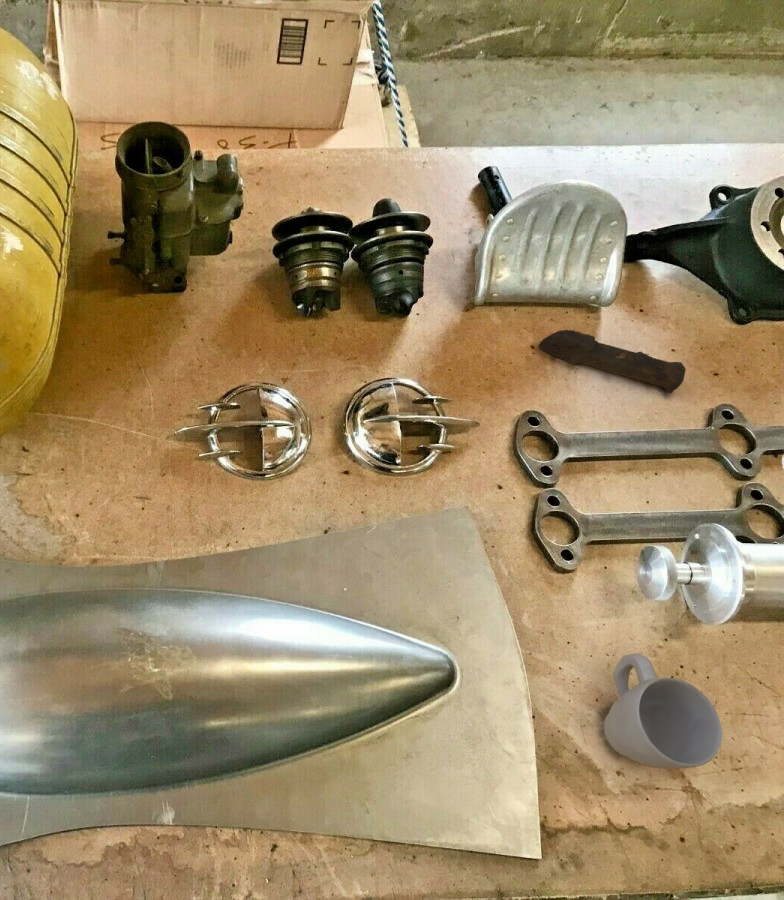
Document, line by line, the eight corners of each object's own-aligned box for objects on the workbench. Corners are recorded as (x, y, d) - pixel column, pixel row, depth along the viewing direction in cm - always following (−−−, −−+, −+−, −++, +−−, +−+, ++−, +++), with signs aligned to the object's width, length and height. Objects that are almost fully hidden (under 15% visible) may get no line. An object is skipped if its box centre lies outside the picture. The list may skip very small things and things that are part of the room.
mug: (679, 767, 87) (739, 759, 79) (606, 781, 86) (659, 773, 78) (634, 659, 93) (686, 640, 84) (565, 671, 92) (611, 652, 83)
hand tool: (670, 375, 112) (691, 356, 108) (669, 397, 110) (690, 380, 106) (539, 333, 114) (554, 313, 109) (535, 354, 112) (551, 335, 108)
